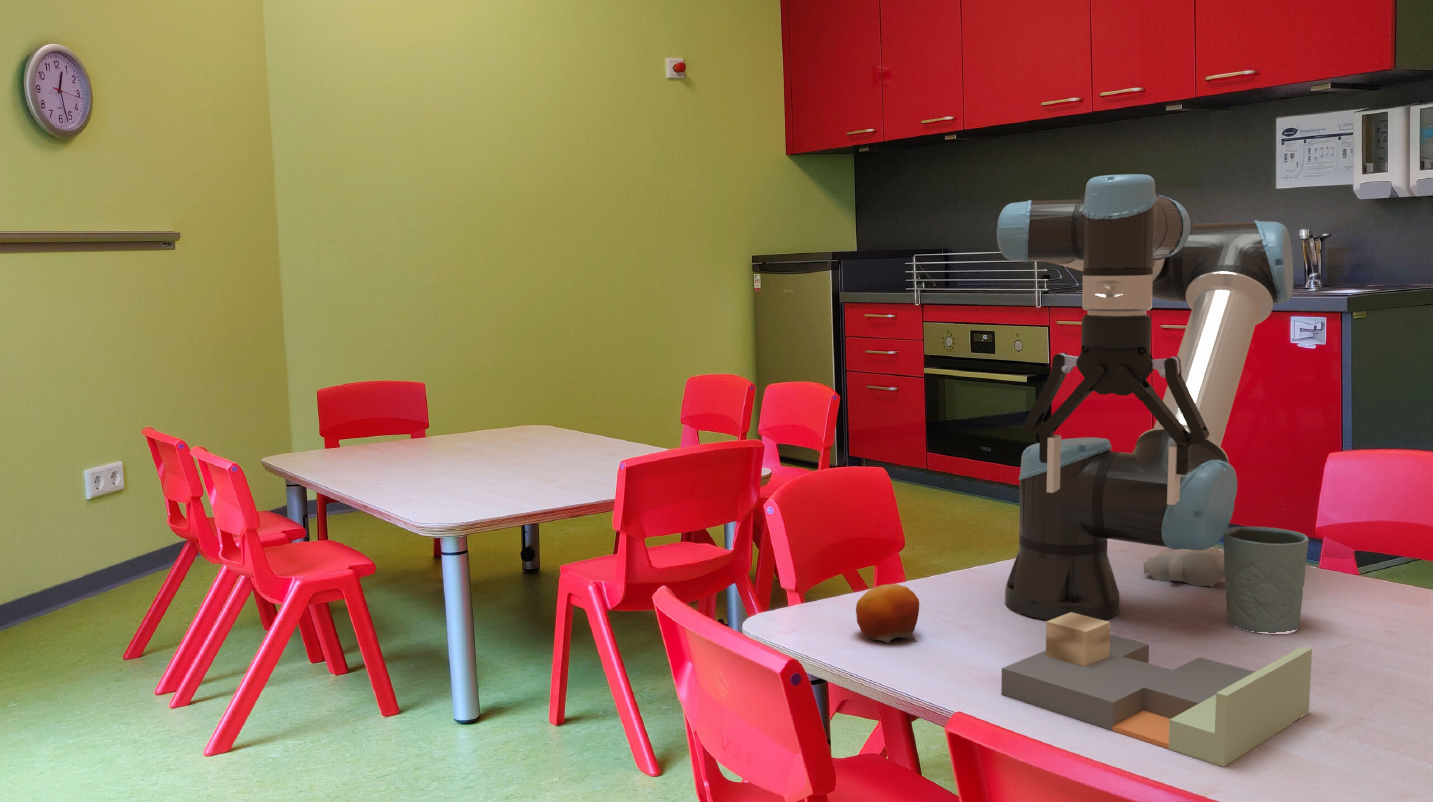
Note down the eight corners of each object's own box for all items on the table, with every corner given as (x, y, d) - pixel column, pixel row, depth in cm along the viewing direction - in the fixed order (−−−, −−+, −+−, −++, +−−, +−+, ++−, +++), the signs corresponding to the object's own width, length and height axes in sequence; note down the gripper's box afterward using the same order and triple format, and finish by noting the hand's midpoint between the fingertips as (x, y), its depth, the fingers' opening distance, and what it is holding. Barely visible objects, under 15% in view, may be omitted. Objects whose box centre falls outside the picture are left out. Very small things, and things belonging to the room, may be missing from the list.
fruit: (889, 643, 140) (870, 581, 143) (858, 659, 147) (840, 599, 150) (942, 633, 144) (922, 572, 147) (909, 648, 150) (890, 590, 153)
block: (1045, 655, 131) (1046, 621, 130) (1070, 645, 134) (1071, 612, 134) (1085, 666, 127) (1086, 631, 127) (1109, 656, 130) (1110, 621, 130)
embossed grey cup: (1265, 640, 144) (1269, 547, 142) (1201, 618, 153) (1205, 530, 151) (1322, 629, 148) (1327, 538, 146) (1257, 608, 157) (1261, 522, 155)
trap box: (1001, 694, 127) (1002, 633, 127) (1094, 654, 140) (1095, 598, 139) (1223, 766, 109) (1226, 695, 108) (1308, 713, 121) (1311, 648, 120)
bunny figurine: (1152, 543, 177) (1258, 543, 169) (1155, 575, 178) (1261, 577, 169) (1137, 556, 169) (1248, 558, 161) (1141, 590, 170) (1251, 593, 161)
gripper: (998, 313, 135) (996, 491, 137) (1228, 316, 121) (1220, 514, 123) (1020, 310, 141) (1017, 480, 143) (1241, 312, 127) (1233, 501, 130)
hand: (1111, 496), depth 133 cm, fingers open, 13 cm apart
